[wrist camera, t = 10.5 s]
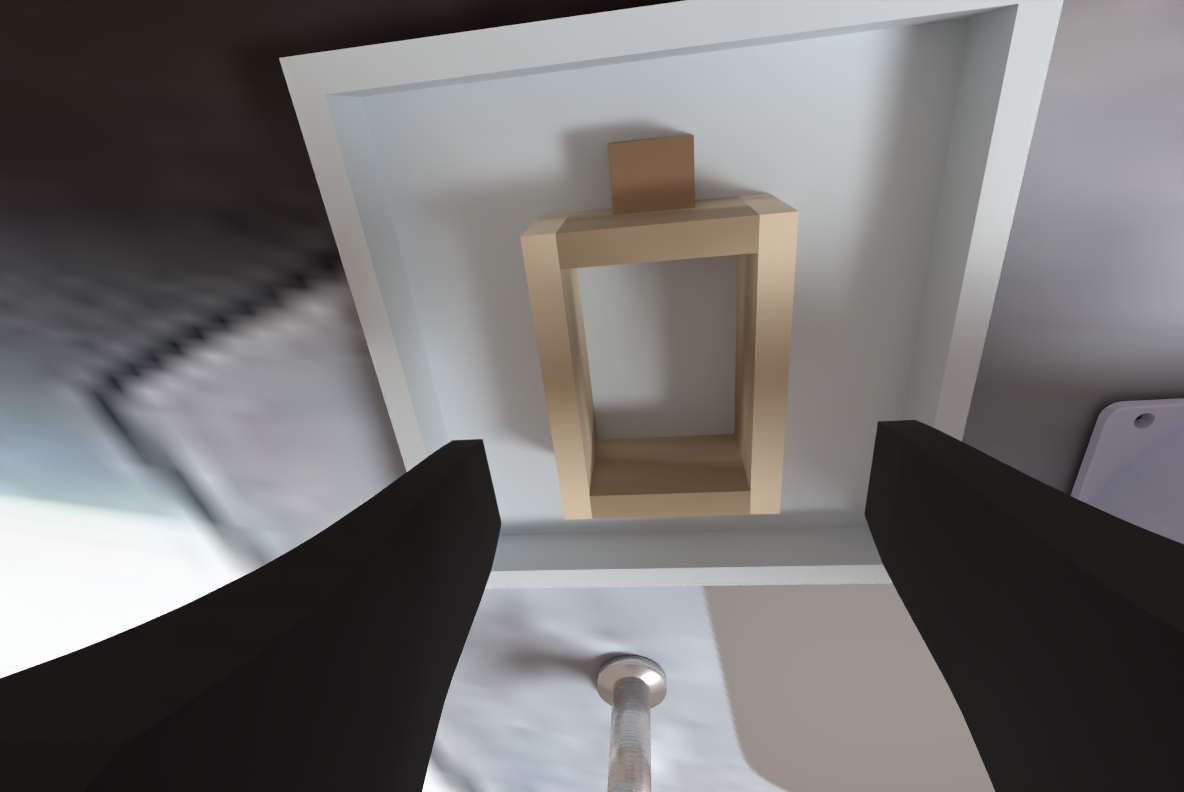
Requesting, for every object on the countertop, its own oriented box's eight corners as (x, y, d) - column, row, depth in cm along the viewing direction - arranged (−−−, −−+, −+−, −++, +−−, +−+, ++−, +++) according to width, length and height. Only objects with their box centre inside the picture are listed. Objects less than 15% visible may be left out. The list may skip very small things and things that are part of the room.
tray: (1001, -26, 12) (1076, -55, 10) (898, 531, 19) (929, 582, 17) (333, 66, 14) (278, 57, 12) (462, 541, 21) (442, 589, 19)
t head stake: (663, 639, 23) (669, 808, 17) (668, 714, 25) (675, 886, 20) (592, 639, 23) (575, 805, 18) (603, 713, 25) (592, 881, 20)
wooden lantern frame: (759, 453, 18) (779, 513, 15) (576, 461, 18) (564, 519, 16) (772, 124, 13) (804, 126, 11) (533, 150, 14) (507, 158, 12)
